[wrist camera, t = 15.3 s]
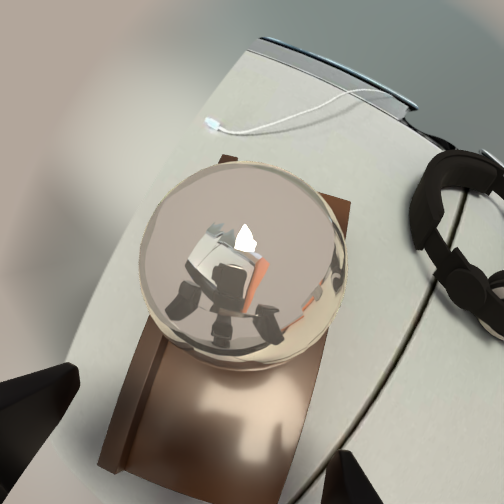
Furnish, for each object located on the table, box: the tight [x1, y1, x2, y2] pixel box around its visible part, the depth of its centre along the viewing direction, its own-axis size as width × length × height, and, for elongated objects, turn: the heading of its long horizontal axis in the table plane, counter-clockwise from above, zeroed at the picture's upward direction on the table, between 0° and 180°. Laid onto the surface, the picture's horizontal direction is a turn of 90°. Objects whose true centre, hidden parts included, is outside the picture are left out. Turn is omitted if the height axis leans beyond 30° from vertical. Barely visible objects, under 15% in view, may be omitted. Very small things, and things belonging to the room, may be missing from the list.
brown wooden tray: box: [97, 154, 351, 504], centre depth 19 cm, size 22×10×6 cm, turn 164°
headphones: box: [409, 150, 504, 340], centre depth 23 cm, size 18×8×20 cm
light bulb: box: [139, 161, 348, 372], centre depth 13 cm, size 7×7×12 cm
